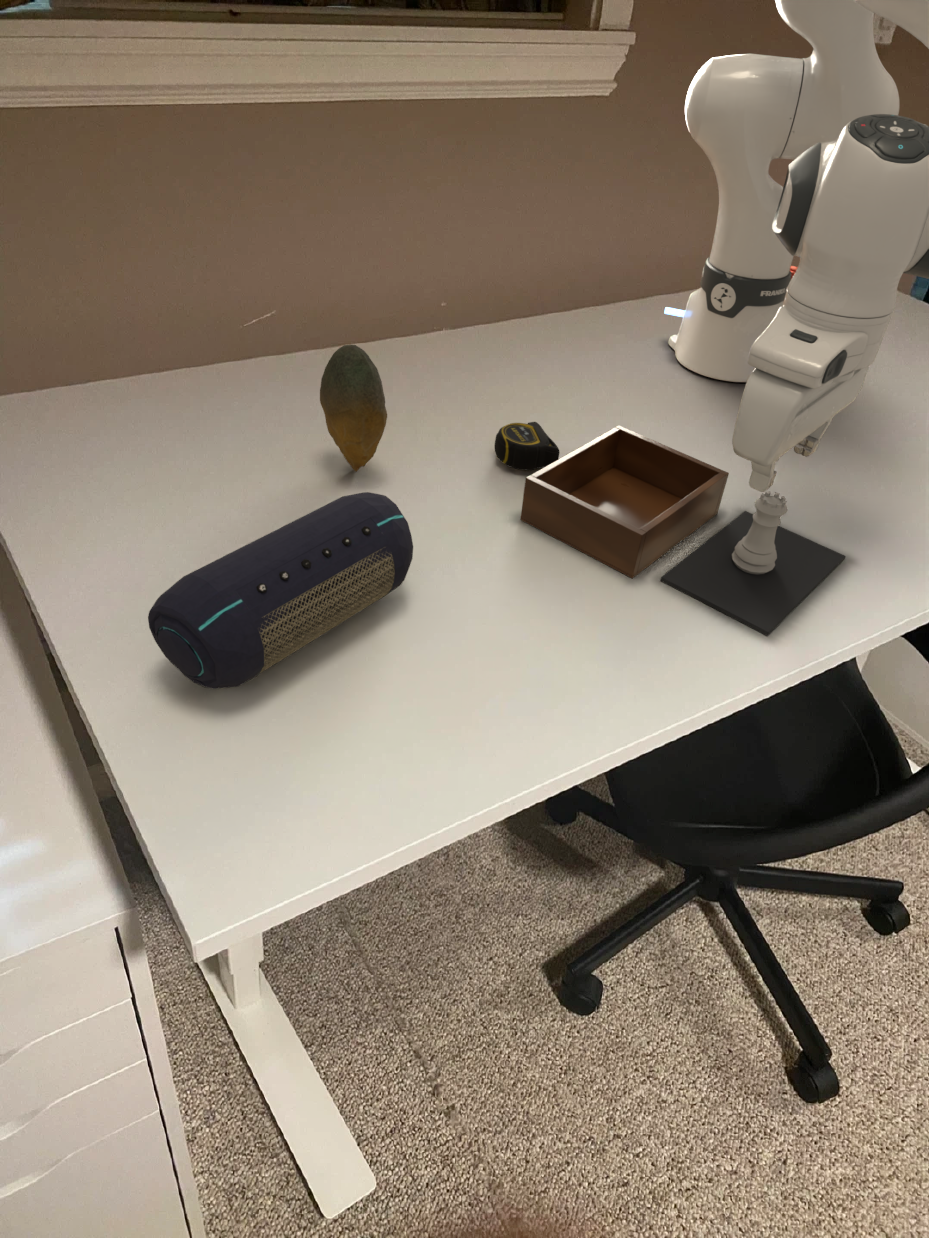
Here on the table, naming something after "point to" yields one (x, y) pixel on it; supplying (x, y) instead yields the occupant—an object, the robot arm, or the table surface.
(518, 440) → the tape measure
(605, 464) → the open wooden box
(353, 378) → the green and yellow papaya
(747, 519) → the mat
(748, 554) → the rook chess piece
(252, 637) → the portable speaker
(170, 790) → the table surface
